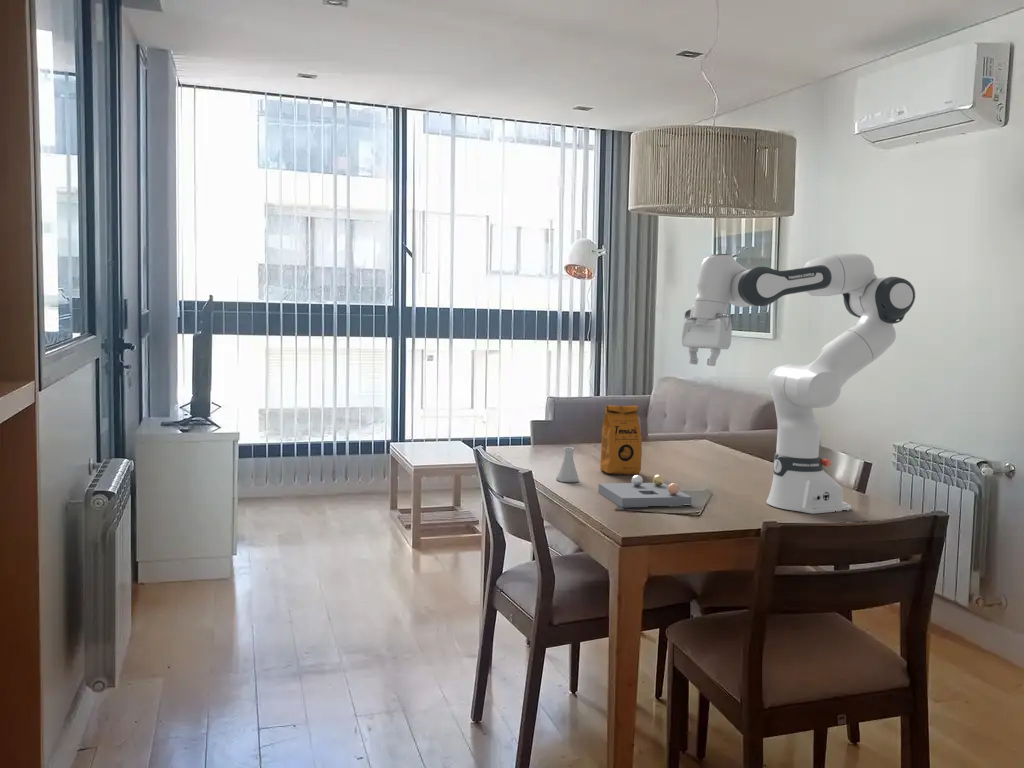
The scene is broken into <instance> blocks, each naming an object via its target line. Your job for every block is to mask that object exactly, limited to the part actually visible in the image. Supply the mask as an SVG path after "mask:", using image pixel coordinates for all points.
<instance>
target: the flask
mask: <svg viewBox="0 0 1024 768" xmlns="http://www.w3.org/2000/svg"><path fill="white" fill-rule="evenodd" d="M563 450H564V454H563V455H564V456H563V460H562V462H561V465H560V468H559V470H558V473H557V475H556V477H555V480H556V481H558V482H561V483H578V482H580V479H579V475H578V472H577V469H576V468H577V467H576V464H575V461H574V451H575V447H570V446H569V447H568V446H566V447H563Z"/></svg>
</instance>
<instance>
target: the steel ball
mask: <svg viewBox="0 0 1024 768" xmlns="http://www.w3.org/2000/svg"><path fill="white" fill-rule="evenodd" d="M631 483H632V484H633V485H634V486H640V485H641V484H642V483H644V480H643V477H642V475H640V474H639V475H636V474H634V475H632V477H631Z"/></svg>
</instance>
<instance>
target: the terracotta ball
mask: <svg viewBox="0 0 1024 768" xmlns="http://www.w3.org/2000/svg"><path fill="white" fill-rule="evenodd" d="M668 485H669V486H668V492H669V493H670V494H672V495H676V494H677V493H678V492H679V491H680V486H679V484H677V483H675V482H671V483H669V484H668Z"/></svg>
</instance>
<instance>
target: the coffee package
mask: <svg viewBox="0 0 1024 768" xmlns="http://www.w3.org/2000/svg"><path fill="white" fill-rule="evenodd" d="M638 410H639V405H610V404H609V405H608V404H607V405H606V406H605V411H604V417H603V422H602V429H601V447H600V449H601V450H600V466H599V467H600V469H599V470H600V471H602V472H604V473H607V474H611V475H626V476H627V475H640V473H641V470H642V456H643V455H642V454H643V451H642V434H641V425H640V422H639V414H638Z"/></svg>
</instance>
